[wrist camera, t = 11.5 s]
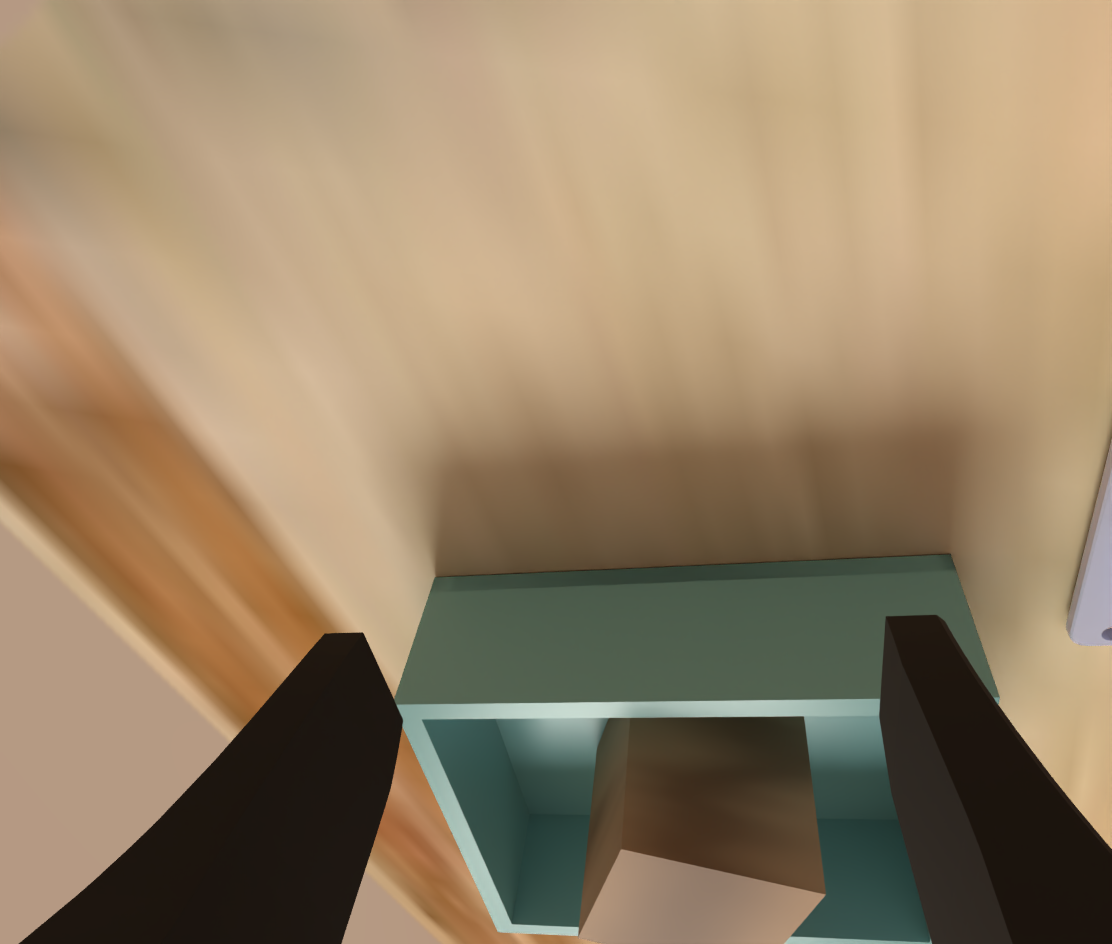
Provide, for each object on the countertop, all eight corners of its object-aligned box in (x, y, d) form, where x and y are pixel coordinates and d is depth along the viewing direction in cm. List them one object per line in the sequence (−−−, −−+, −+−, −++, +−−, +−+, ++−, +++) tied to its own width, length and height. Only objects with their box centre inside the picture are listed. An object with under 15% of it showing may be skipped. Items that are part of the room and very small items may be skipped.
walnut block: (800, 689, 25) (826, 895, 20) (745, 781, 28) (755, 977, 23) (634, 652, 25) (621, 849, 20) (596, 748, 28) (578, 938, 23)
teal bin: (950, 554, 22) (999, 697, 18) (918, 813, 29) (949, 952, 25) (434, 577, 25) (392, 705, 21) (519, 807, 32) (498, 932, 28)
